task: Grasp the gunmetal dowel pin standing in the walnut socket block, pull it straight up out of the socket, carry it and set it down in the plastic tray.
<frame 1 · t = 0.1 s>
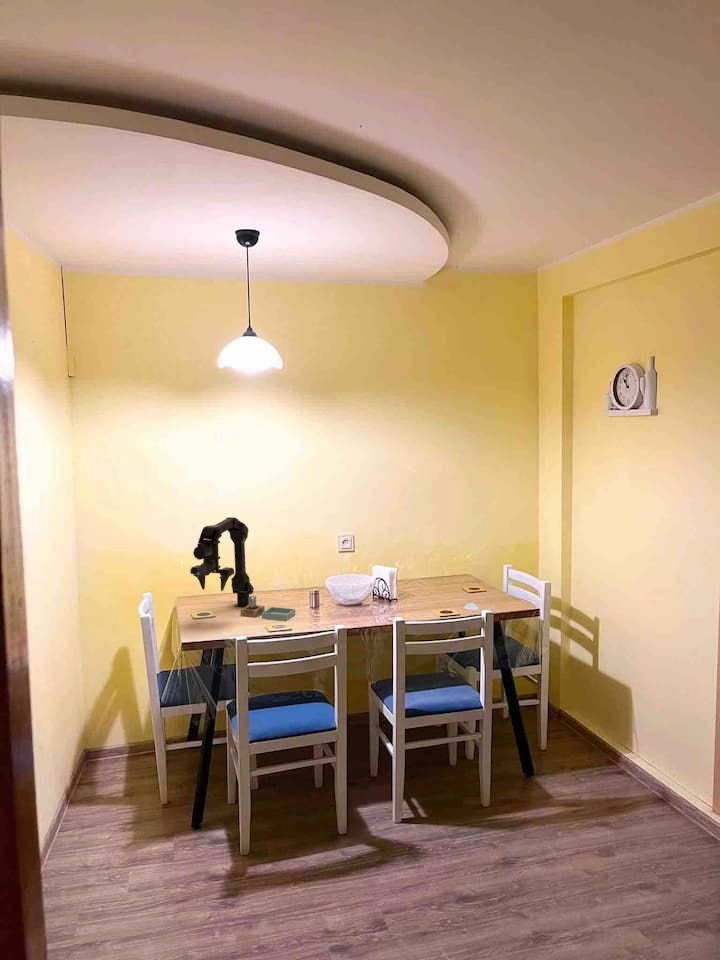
hand: (212, 590, 288), 14 cm above the table, fingers open, 9 cm apart
tray: (278, 616, 297), on the table
pin: (252, 605, 301), in the socket block
socket block: (252, 614, 301), on the table
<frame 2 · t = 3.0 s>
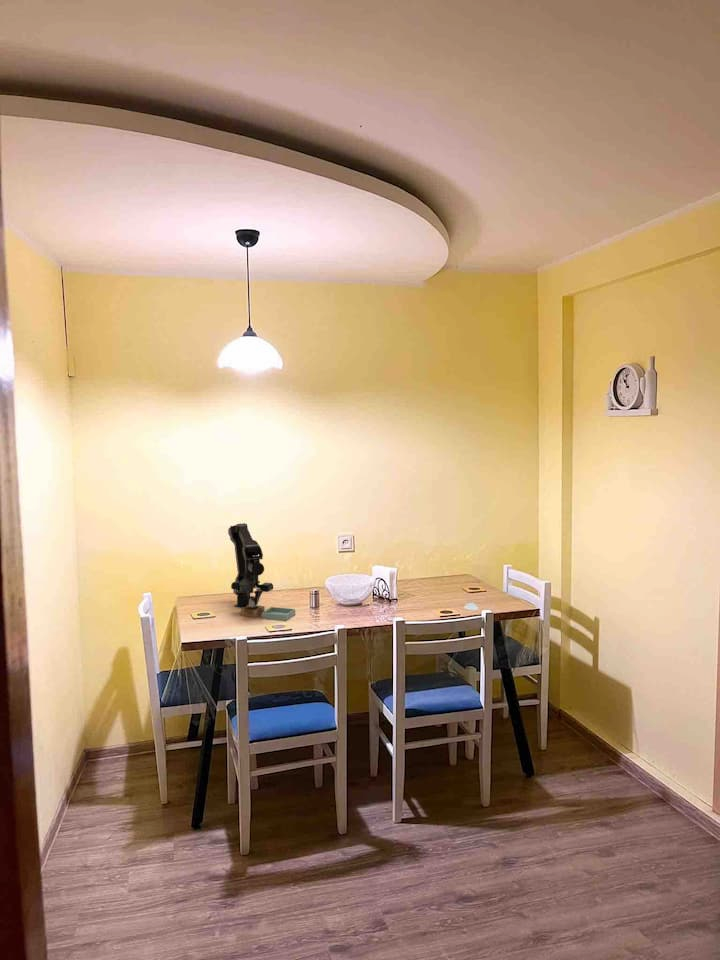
hand: (252, 604, 301), 5 cm above the table, fingers closed on pin, 3 cm apart
pin: (252, 605, 301), in the socket block, touching gripper
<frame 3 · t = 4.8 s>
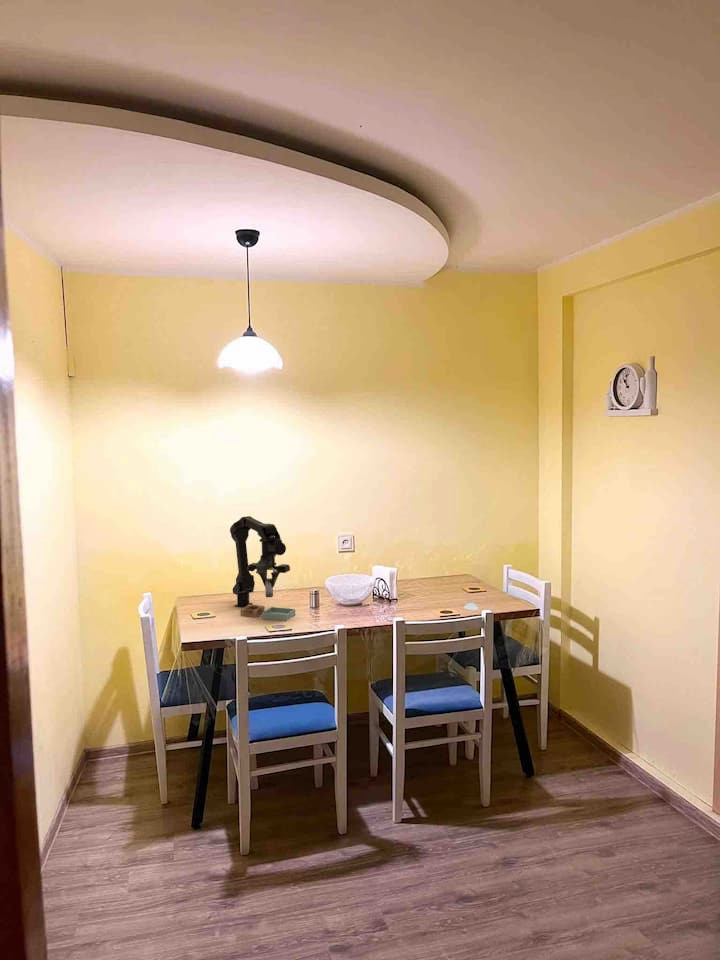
hand: (269, 586, 297), 14 cm above the table, fingers closed on pin, 3 cm apart
pin: (269, 587, 297), point 13 cm above the table, touching gripper
when the fingers open (6 cm above the table, at t = 6.9 s): pin drops 1 cm, resting on tray.
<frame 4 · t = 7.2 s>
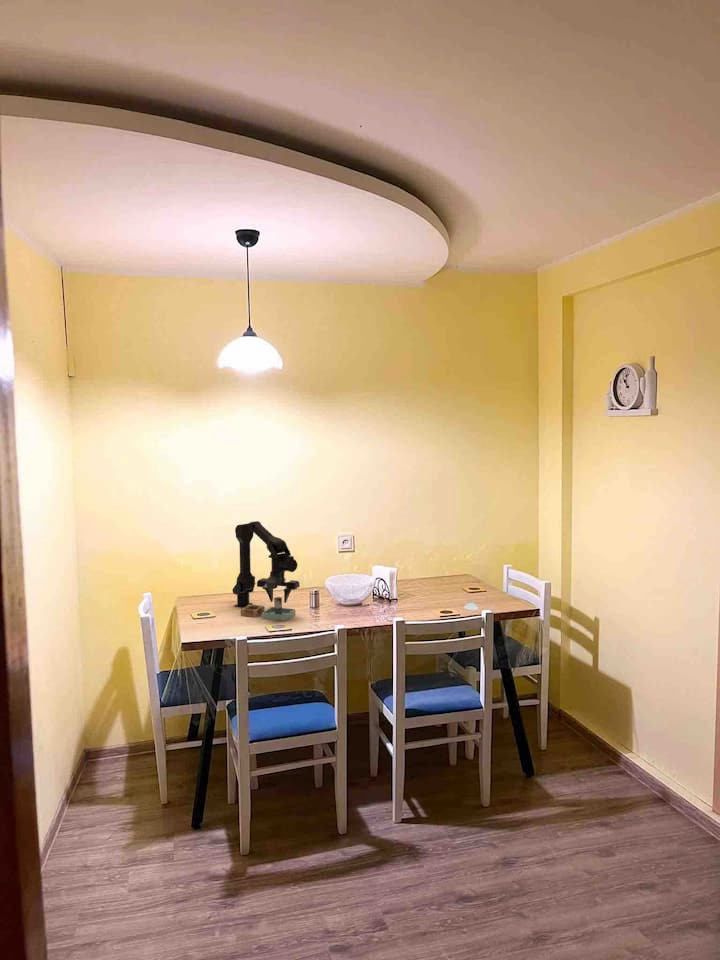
hand: (278, 602, 297), 6 cm above the table, fingers open, 6 cm apart
pin: (278, 606, 297), in the tray, point 5 cm above the table
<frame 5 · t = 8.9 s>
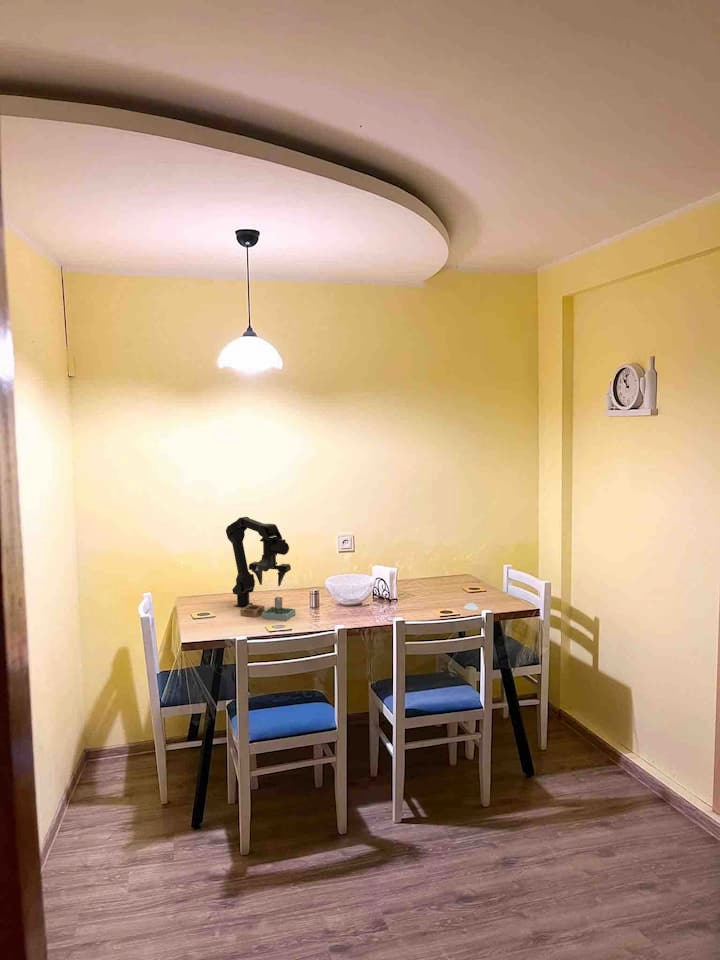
hand: (270, 585, 302), 13 cm above the table, fingers open, 9 cm apart
nothing on the table moved.
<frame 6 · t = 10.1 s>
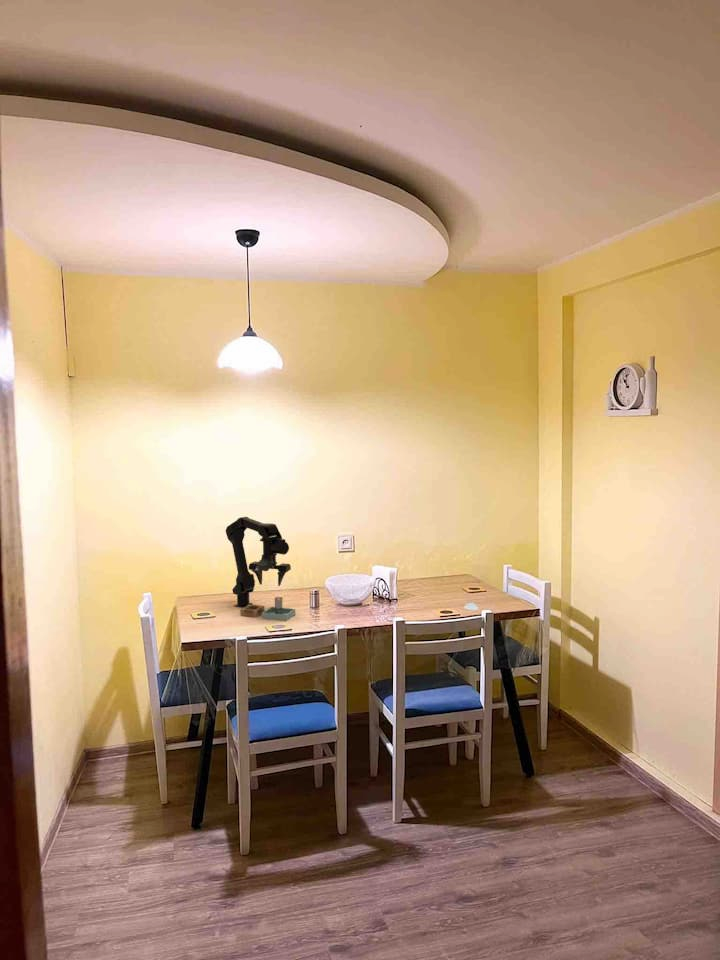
hand: (269, 585, 302), 13 cm above the table, fingers open, 9 cm apart
nothing on the table moved.
at the end: pin inside the target area on the tray (0.1 cm from its centre), point 4.6 cm above the tray's base; pin touching tray; the gripper is holding nothing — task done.
